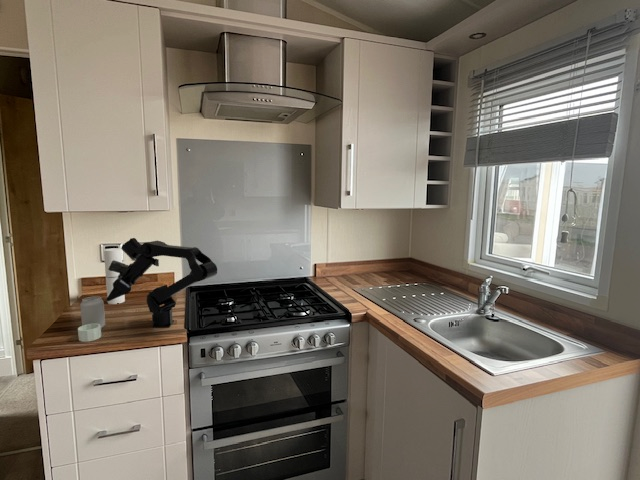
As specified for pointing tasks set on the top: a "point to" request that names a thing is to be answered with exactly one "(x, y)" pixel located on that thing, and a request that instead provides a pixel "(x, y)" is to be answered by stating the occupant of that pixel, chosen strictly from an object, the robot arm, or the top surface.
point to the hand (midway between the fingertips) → (109, 296)
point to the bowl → (89, 332)
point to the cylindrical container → (112, 272)
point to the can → (92, 311)
